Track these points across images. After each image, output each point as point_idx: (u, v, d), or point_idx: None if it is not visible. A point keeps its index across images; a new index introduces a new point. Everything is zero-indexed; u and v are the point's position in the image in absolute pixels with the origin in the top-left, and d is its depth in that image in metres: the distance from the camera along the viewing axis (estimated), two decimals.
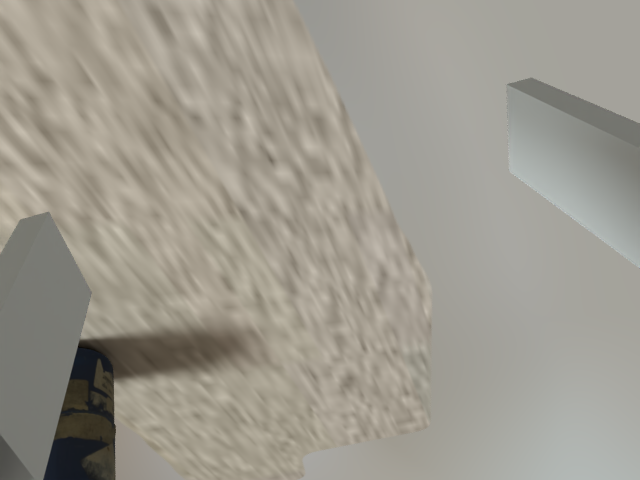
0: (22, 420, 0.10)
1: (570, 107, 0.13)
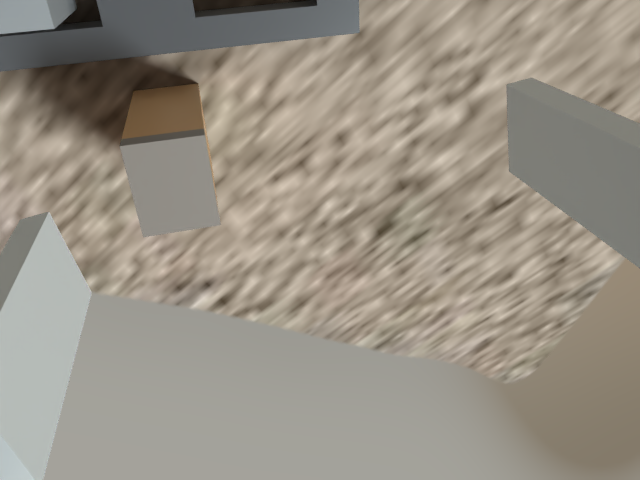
0: (22, 420, 0.10)
1: (570, 107, 0.13)
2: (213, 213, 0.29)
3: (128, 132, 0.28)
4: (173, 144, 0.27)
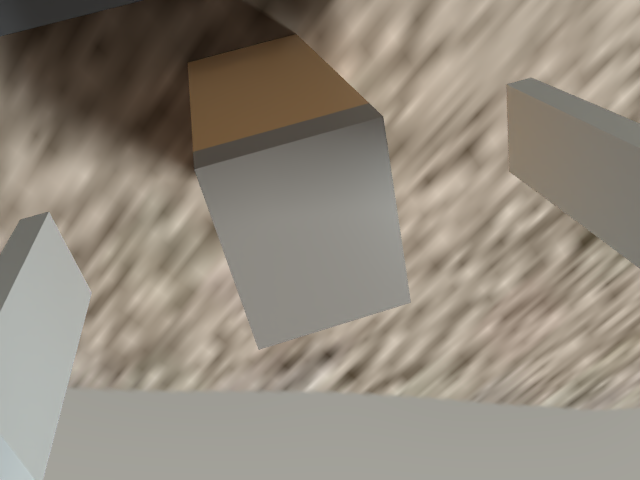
0: (22, 420, 0.10)
1: (570, 107, 0.13)
2: (398, 282, 0.14)
3: (203, 135, 0.13)
4: (313, 148, 0.11)
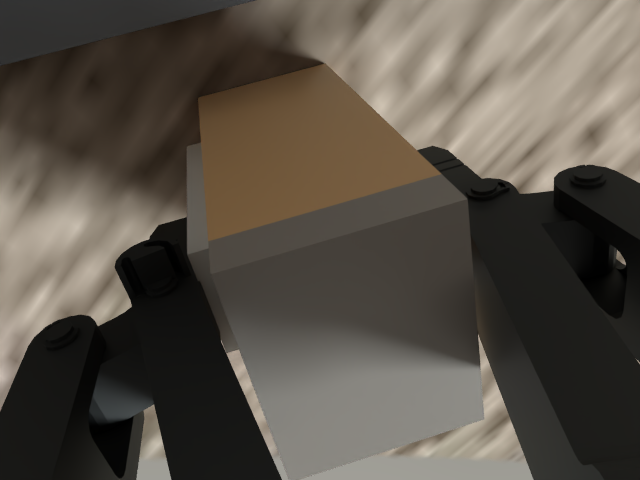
0: None
1: None
2: (470, 398, 0.11)
3: (221, 212, 0.10)
4: (373, 242, 0.08)
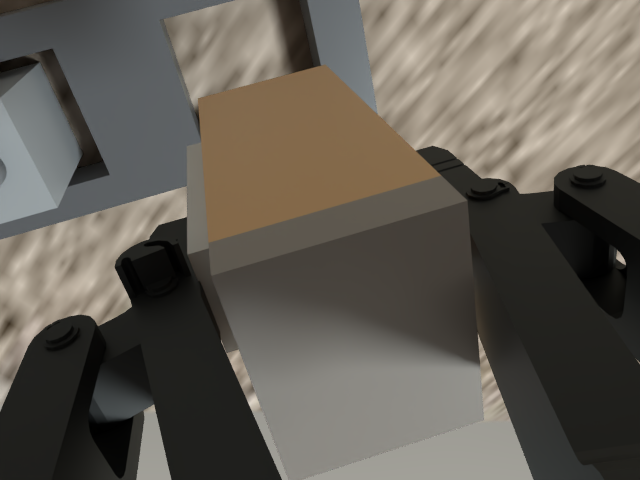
0: None
1: None
2: (470, 399, 0.11)
3: (221, 213, 0.10)
4: (373, 243, 0.08)
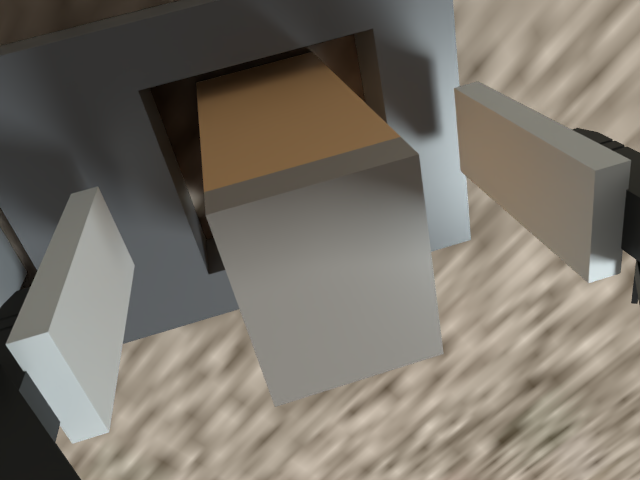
0: (91, 370, 0.11)
1: (506, 110, 0.14)
2: (430, 333, 0.12)
3: (215, 171, 0.11)
4: (340, 190, 0.10)
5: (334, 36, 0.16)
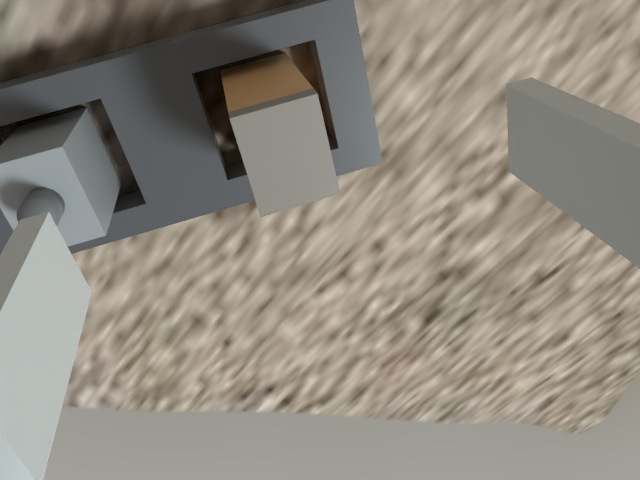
0: (22, 420, 0.10)
1: (570, 107, 0.13)
2: (332, 181, 0.26)
3: (232, 105, 0.26)
4: (285, 108, 0.24)
5: (294, 43, 0.30)
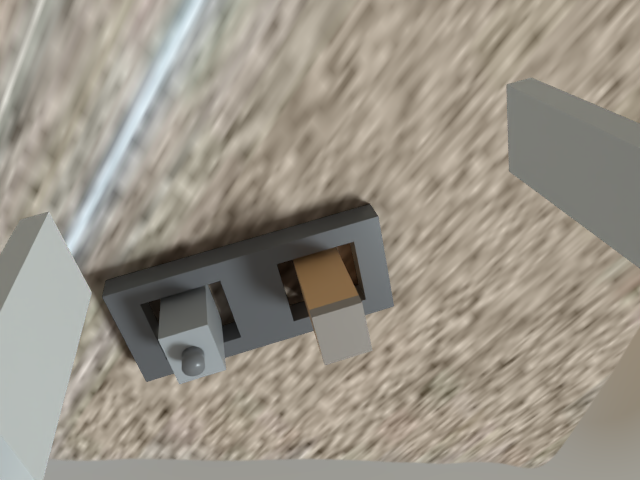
0: (22, 420, 0.10)
1: (570, 107, 0.13)
2: (368, 344, 0.44)
3: (310, 302, 0.43)
4: (343, 311, 0.42)
5: (341, 244, 0.48)
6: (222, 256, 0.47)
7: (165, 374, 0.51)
